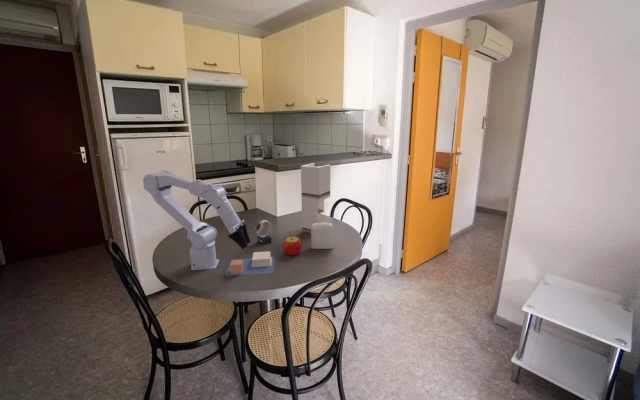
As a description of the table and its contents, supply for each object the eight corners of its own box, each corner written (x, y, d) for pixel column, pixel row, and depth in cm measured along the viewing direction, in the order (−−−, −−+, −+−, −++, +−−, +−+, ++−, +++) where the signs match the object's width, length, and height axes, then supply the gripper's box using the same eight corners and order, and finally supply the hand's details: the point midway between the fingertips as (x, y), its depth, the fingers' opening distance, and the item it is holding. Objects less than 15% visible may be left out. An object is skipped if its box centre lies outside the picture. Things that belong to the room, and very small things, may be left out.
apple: (292, 248, 139) (291, 228, 137) (306, 253, 134) (305, 232, 131) (279, 254, 133) (278, 233, 130) (293, 260, 128) (292, 238, 125)
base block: (252, 266, 121) (252, 259, 121) (254, 258, 128) (253, 252, 127) (270, 265, 122) (269, 258, 121) (270, 257, 129) (270, 251, 128)
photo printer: (311, 249, 138) (310, 224, 135) (311, 245, 142) (311, 221, 139) (333, 249, 138) (333, 224, 135) (333, 245, 142) (333, 221, 139)
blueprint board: (225, 277, 114) (225, 276, 114) (231, 260, 127) (231, 259, 127) (273, 274, 116) (273, 272, 116) (274, 258, 130) (274, 256, 130)
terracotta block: (231, 274, 115) (230, 265, 114) (232, 269, 119) (232, 260, 118) (242, 273, 116) (241, 264, 115) (243, 268, 119) (242, 259, 118)
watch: (254, 242, 146) (252, 221, 143) (269, 238, 151) (268, 217, 148) (259, 246, 142) (258, 224, 139) (274, 242, 147) (273, 220, 144)
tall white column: (319, 234, 156) (318, 167, 147) (302, 231, 161) (300, 165, 152) (330, 228, 165) (330, 164, 156) (313, 224, 170) (313, 163, 161)
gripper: (233, 212, 108) (253, 244, 109) (240, 208, 122) (258, 236, 124) (216, 221, 108) (236, 254, 109) (225, 216, 122) (243, 245, 123)
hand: (246, 245), depth 116 cm, fingers open, 7 cm apart
